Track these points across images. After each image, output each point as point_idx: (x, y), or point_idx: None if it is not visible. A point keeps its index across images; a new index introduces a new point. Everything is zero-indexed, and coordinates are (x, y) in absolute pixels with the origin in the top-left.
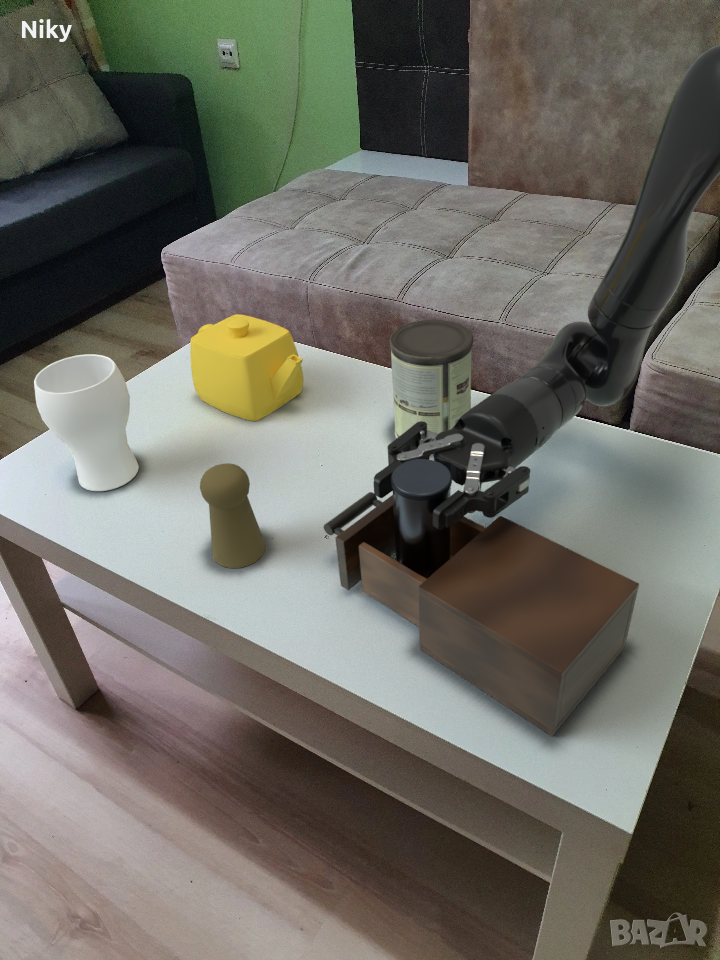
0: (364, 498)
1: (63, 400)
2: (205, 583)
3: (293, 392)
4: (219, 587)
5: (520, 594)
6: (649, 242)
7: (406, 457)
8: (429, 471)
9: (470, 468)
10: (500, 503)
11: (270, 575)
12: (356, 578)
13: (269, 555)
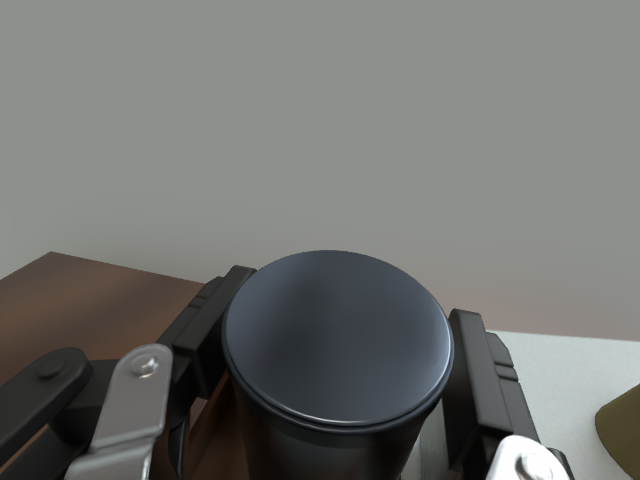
0: None
1: None
2: (585, 368)
3: None
4: (566, 370)
5: (74, 336)
6: None
7: (512, 470)
8: (322, 340)
9: (129, 473)
10: (22, 475)
11: (549, 421)
12: (423, 440)
13: (607, 465)
